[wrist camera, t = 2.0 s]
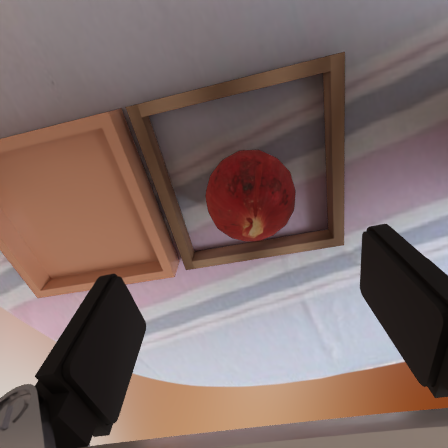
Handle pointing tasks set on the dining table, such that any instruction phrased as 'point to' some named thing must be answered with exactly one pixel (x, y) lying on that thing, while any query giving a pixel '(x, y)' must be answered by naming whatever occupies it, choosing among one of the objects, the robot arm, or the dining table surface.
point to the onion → (250, 195)
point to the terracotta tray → (80, 207)
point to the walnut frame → (327, 65)
